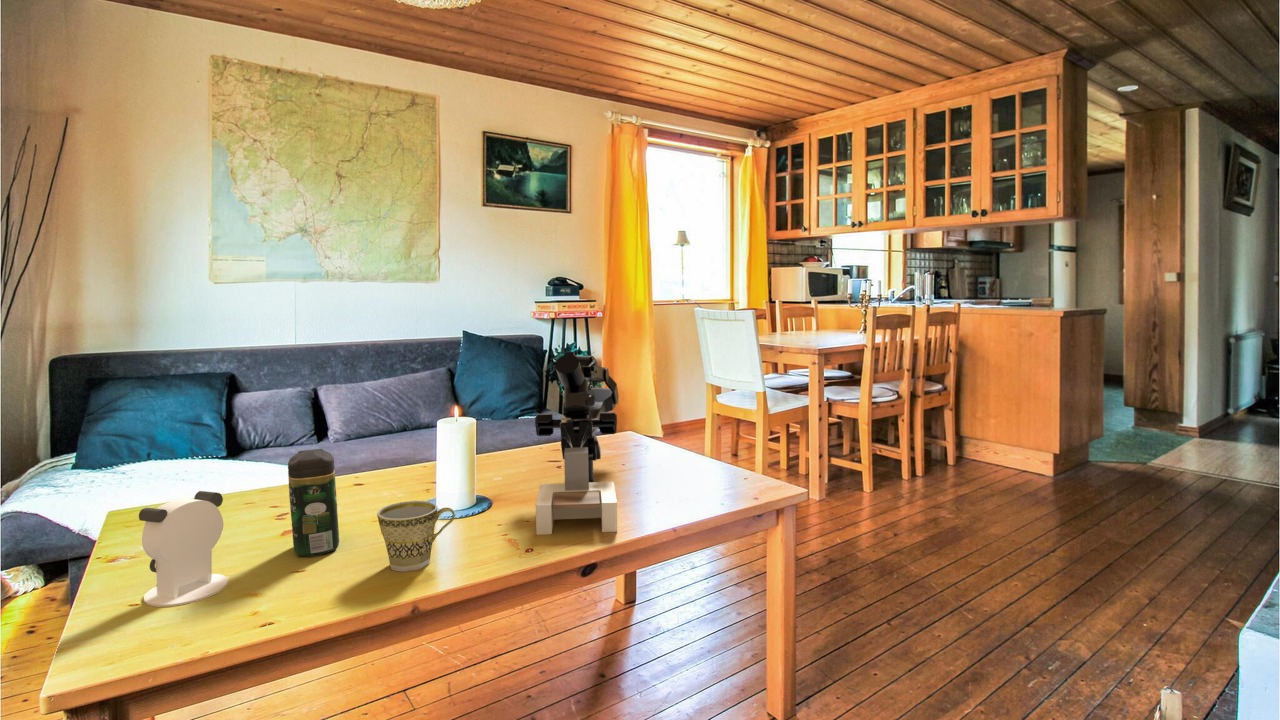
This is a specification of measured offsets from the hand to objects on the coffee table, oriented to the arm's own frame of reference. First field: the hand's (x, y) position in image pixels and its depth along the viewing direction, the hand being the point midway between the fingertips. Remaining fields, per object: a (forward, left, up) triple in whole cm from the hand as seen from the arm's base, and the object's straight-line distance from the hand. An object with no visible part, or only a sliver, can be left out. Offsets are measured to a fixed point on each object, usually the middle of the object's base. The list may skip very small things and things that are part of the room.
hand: (576, 455), depth 150 cm
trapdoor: (+15, 0, -6) cm, 16 cm away
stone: (+7, 0, -1) cm, 7 cm away
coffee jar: (+21, -49, -11) cm, 55 cm away
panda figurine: (+37, -63, -11) cm, 74 cm away
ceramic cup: (+30, -28, -11) cm, 43 cm away
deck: (+11, 0, -11) cm, 16 cm away
